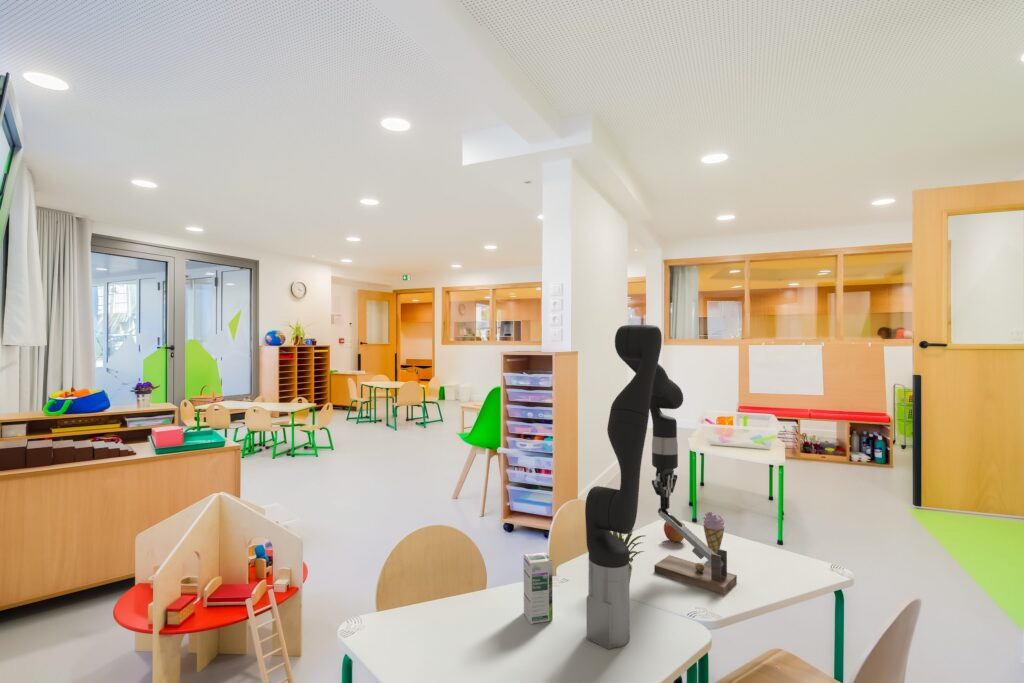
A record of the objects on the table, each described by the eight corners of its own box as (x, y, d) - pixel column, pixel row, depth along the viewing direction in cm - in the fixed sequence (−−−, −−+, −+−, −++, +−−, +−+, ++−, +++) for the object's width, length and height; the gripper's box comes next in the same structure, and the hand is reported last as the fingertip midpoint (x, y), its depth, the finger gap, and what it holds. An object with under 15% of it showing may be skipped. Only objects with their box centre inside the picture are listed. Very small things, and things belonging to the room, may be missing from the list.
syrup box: (530, 625, 114) (530, 562, 115) (522, 612, 120) (523, 553, 120) (552, 621, 116) (553, 560, 116) (544, 609, 121) (544, 550, 122)
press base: (723, 594, 129) (723, 560, 130) (654, 571, 143) (654, 541, 143) (736, 582, 137) (736, 550, 137) (669, 561, 150) (669, 532, 151)
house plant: (661, 595, 129) (661, 533, 129) (620, 607, 123) (620, 542, 123) (625, 573, 142) (625, 517, 142) (587, 583, 135) (587, 524, 136)
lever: (715, 573, 134) (722, 564, 133) (653, 515, 148) (658, 506, 146) (719, 569, 136) (726, 561, 135) (657, 512, 150) (663, 504, 149)
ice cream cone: (697, 556, 155) (697, 508, 155) (712, 552, 157) (711, 506, 158) (714, 564, 149) (714, 515, 149) (729, 560, 151) (728, 512, 152)
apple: (690, 544, 164) (690, 521, 164) (670, 546, 162) (670, 522, 163) (678, 536, 171) (678, 514, 171) (659, 538, 170) (659, 515, 170)
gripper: (666, 456, 140) (666, 516, 139) (685, 449, 149) (686, 506, 149) (642, 452, 145) (643, 510, 144) (663, 446, 155) (663, 501, 154)
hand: (664, 508), depth 147 cm, fingers closed
